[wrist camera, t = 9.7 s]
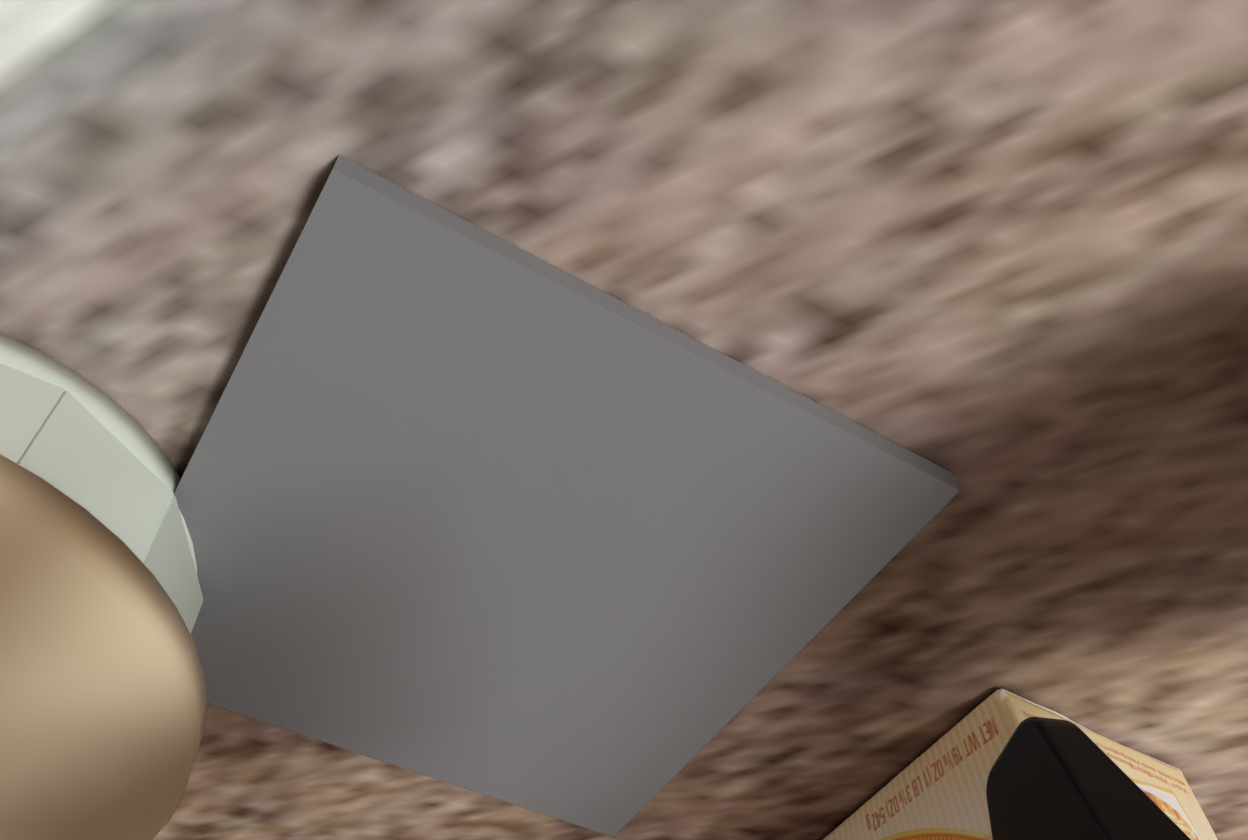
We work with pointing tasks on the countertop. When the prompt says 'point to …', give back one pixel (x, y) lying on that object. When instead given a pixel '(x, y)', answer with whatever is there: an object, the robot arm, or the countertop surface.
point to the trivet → (514, 516)
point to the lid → (87, 676)
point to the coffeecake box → (959, 768)
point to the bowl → (98, 463)
